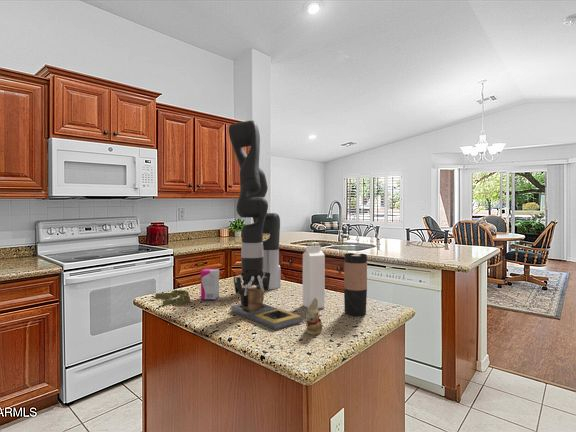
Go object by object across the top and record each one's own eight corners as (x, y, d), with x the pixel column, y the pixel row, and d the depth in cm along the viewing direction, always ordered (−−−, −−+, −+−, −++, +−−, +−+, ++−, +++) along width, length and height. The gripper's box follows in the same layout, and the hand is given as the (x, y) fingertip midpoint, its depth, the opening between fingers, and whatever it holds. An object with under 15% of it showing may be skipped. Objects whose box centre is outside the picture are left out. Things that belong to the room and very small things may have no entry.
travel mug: (353, 317, 115) (353, 256, 114) (339, 311, 121) (339, 253, 121) (371, 314, 118) (372, 255, 118) (357, 308, 125) (357, 252, 124)
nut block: (254, 309, 124) (254, 286, 124) (262, 312, 120) (262, 289, 120) (242, 312, 121) (242, 289, 120) (250, 315, 117) (250, 291, 117)
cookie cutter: (153, 297, 141) (153, 292, 141) (183, 293, 148) (183, 288, 148) (164, 308, 126) (164, 303, 126) (197, 303, 132) (197, 298, 132)
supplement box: (219, 297, 141) (219, 268, 140) (215, 301, 135) (215, 271, 135) (205, 296, 141) (205, 268, 141) (200, 300, 135) (200, 270, 135)
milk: (324, 307, 126) (325, 246, 126) (309, 309, 124) (310, 247, 123) (316, 303, 132) (317, 244, 131) (302, 305, 129) (302, 245, 129)
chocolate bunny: (298, 332, 101) (298, 298, 101) (314, 325, 107) (315, 293, 107) (313, 337, 98) (313, 301, 97) (329, 330, 103) (330, 296, 103)
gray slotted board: (254, 306, 128) (254, 300, 128) (300, 322, 110) (300, 315, 110) (231, 311, 121) (231, 305, 121) (275, 330, 103) (275, 322, 103)
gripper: (262, 252, 127) (262, 298, 128) (228, 256, 118) (228, 306, 118) (275, 254, 122) (275, 303, 122) (240, 258, 112) (240, 311, 113)
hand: (252, 304), depth 120 cm, fingers open, 5 cm apart
